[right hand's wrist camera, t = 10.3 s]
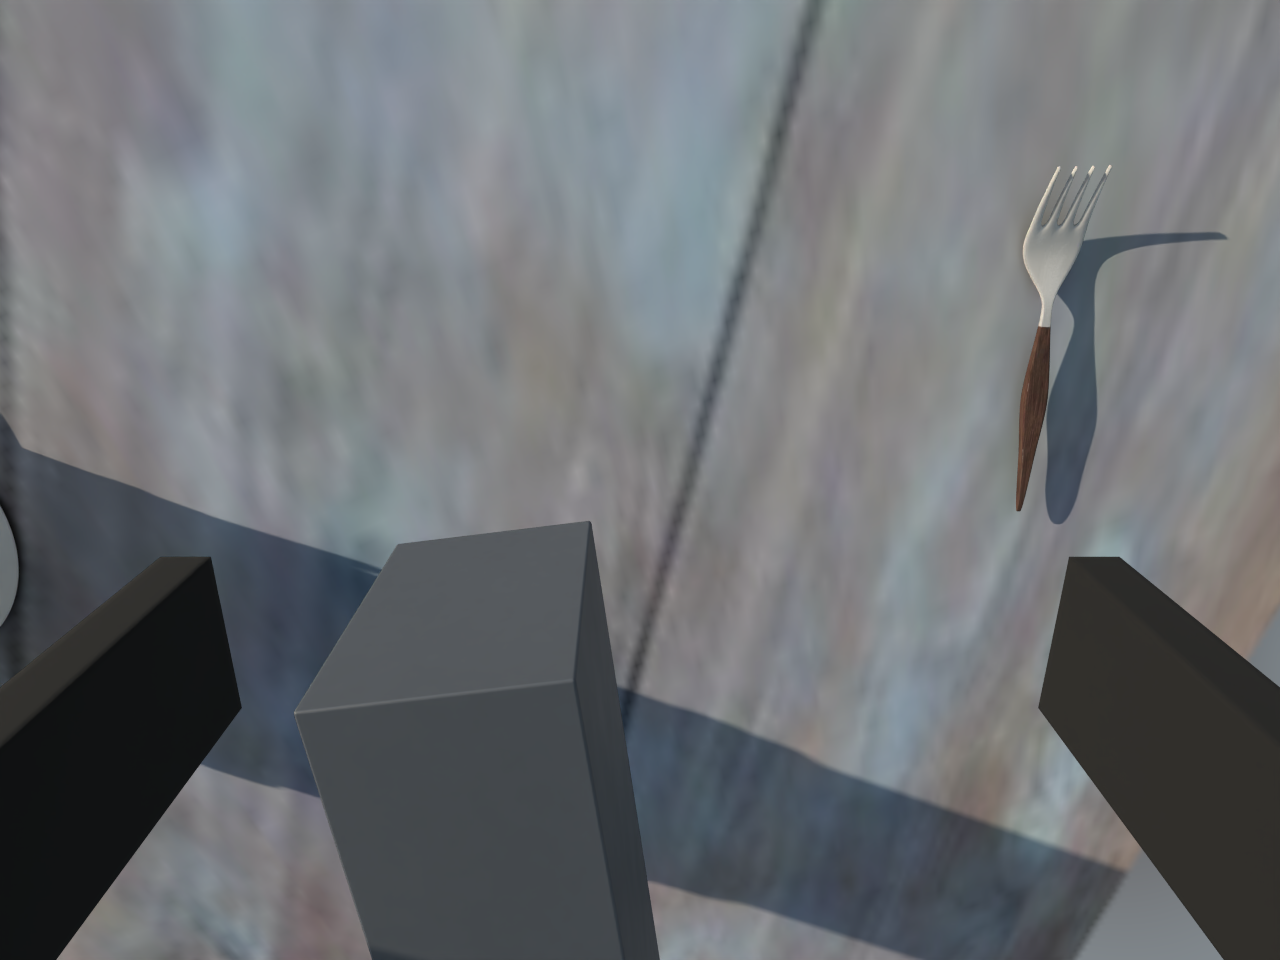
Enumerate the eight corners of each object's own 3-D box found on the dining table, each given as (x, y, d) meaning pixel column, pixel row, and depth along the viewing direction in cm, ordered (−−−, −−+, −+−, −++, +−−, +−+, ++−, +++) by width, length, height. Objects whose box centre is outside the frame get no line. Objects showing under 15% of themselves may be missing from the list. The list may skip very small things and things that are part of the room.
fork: (987, 508, 41) (1004, 523, 39) (1032, 167, 36) (1054, 166, 34) (1039, 506, 41) (1059, 522, 39) (1092, 165, 36) (1117, 165, 34)
